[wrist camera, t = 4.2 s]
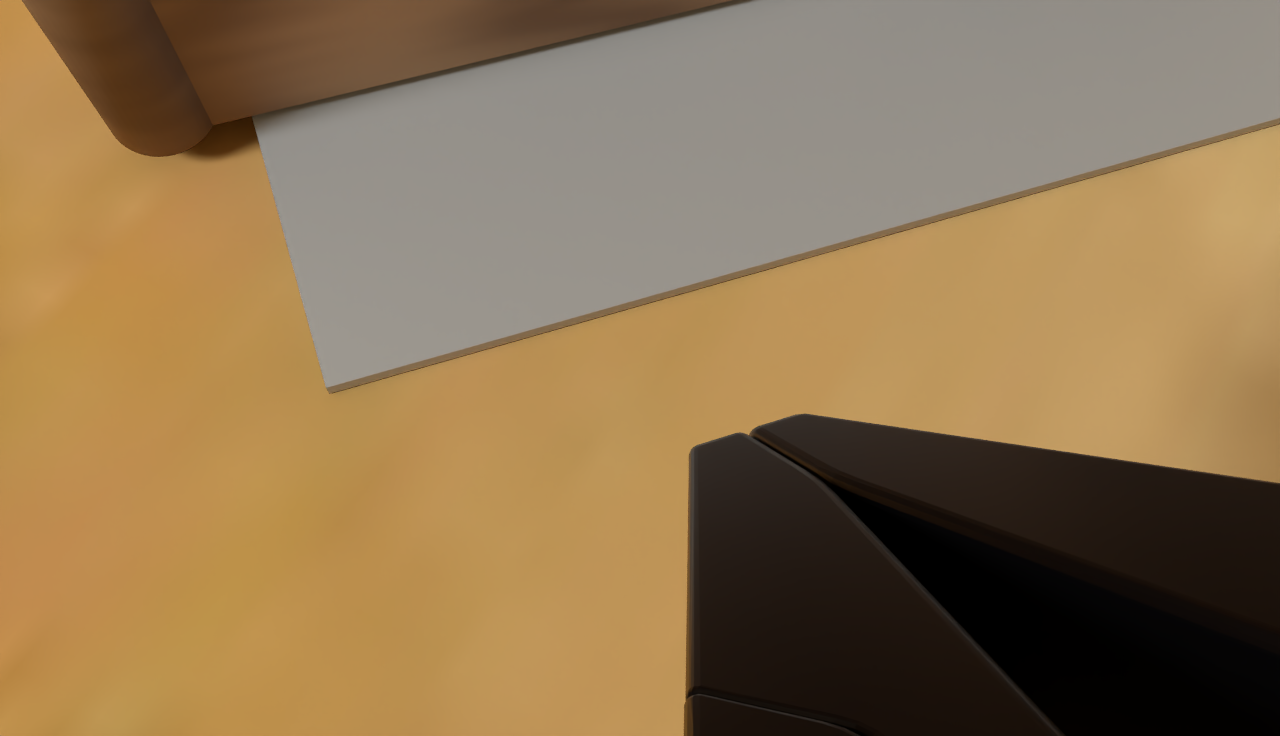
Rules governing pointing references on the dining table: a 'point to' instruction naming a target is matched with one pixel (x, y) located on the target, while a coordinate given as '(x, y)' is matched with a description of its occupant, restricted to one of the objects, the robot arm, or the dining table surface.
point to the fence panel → (289, 51)
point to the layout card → (722, 153)
